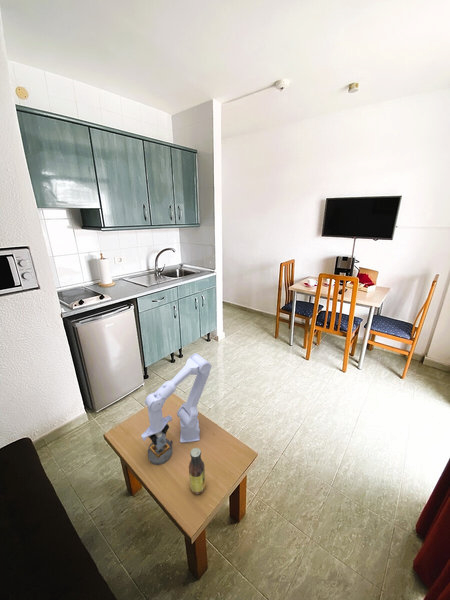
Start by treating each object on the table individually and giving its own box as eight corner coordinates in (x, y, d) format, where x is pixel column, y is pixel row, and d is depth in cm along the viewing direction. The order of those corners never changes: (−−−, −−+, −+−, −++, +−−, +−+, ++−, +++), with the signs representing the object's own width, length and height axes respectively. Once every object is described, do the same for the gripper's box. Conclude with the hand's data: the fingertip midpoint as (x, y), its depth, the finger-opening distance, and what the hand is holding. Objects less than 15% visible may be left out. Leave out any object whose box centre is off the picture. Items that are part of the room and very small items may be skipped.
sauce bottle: (207, 492, 99) (205, 458, 92) (191, 497, 97) (189, 463, 90) (203, 476, 105) (202, 443, 97) (189, 481, 103) (186, 447, 96)
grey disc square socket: (165, 437, 122) (164, 430, 121) (179, 450, 116) (178, 444, 114) (143, 453, 114) (142, 447, 113) (157, 470, 107) (156, 463, 106)
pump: (161, 438, 114) (159, 427, 112) (167, 445, 111) (166, 434, 109) (153, 444, 112) (152, 433, 109) (160, 451, 108) (159, 440, 106)
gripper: (164, 404, 114) (167, 425, 119) (136, 423, 104) (140, 446, 109) (173, 412, 109) (175, 434, 114) (144, 433, 99) (148, 456, 104)
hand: (159, 440), depth 111 cm, fingers closed on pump, 4 cm apart
